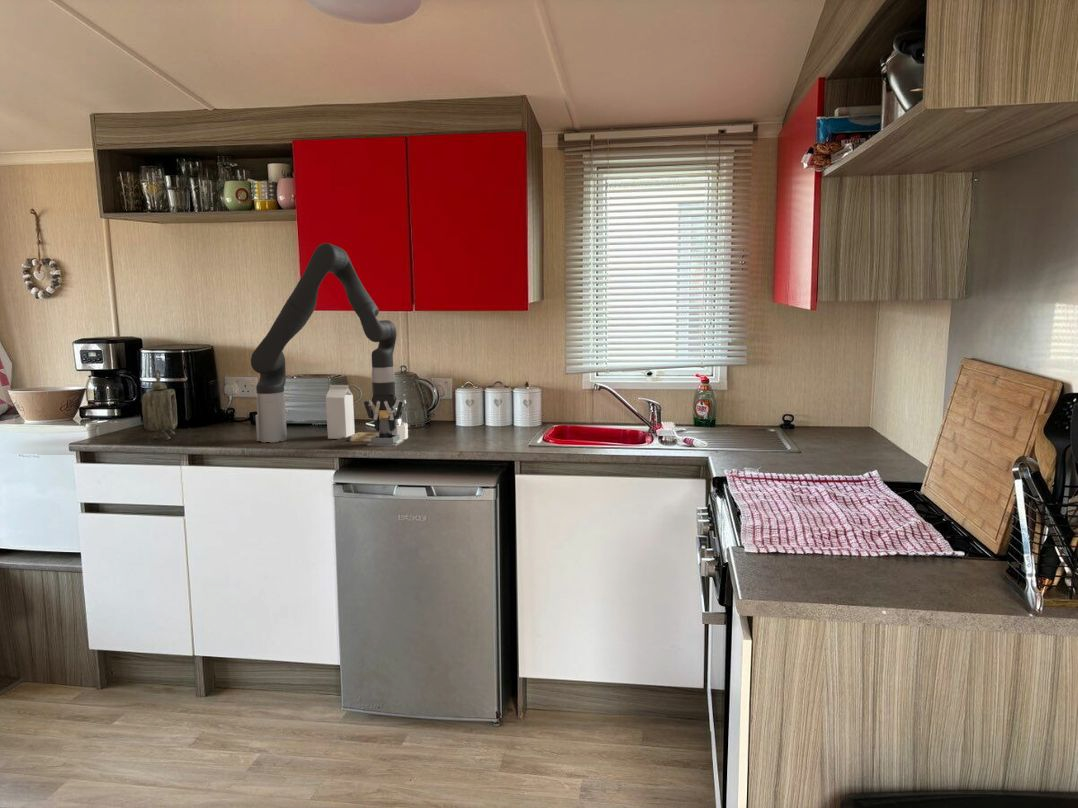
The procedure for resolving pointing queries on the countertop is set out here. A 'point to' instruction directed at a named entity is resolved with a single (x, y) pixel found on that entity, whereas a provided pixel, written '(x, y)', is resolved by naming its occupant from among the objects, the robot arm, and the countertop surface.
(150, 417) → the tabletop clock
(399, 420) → the cell
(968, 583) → the countertop surface
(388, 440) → the grey flat block
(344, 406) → the milk carton
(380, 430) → the cell
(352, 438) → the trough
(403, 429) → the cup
